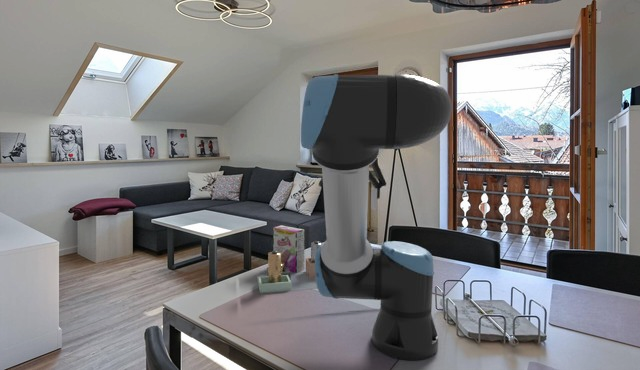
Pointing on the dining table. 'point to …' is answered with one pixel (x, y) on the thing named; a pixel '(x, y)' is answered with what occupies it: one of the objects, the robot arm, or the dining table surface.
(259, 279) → the battery sorting tray
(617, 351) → the dining table surface
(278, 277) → the copper cell
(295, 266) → the candy bar box
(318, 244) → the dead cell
